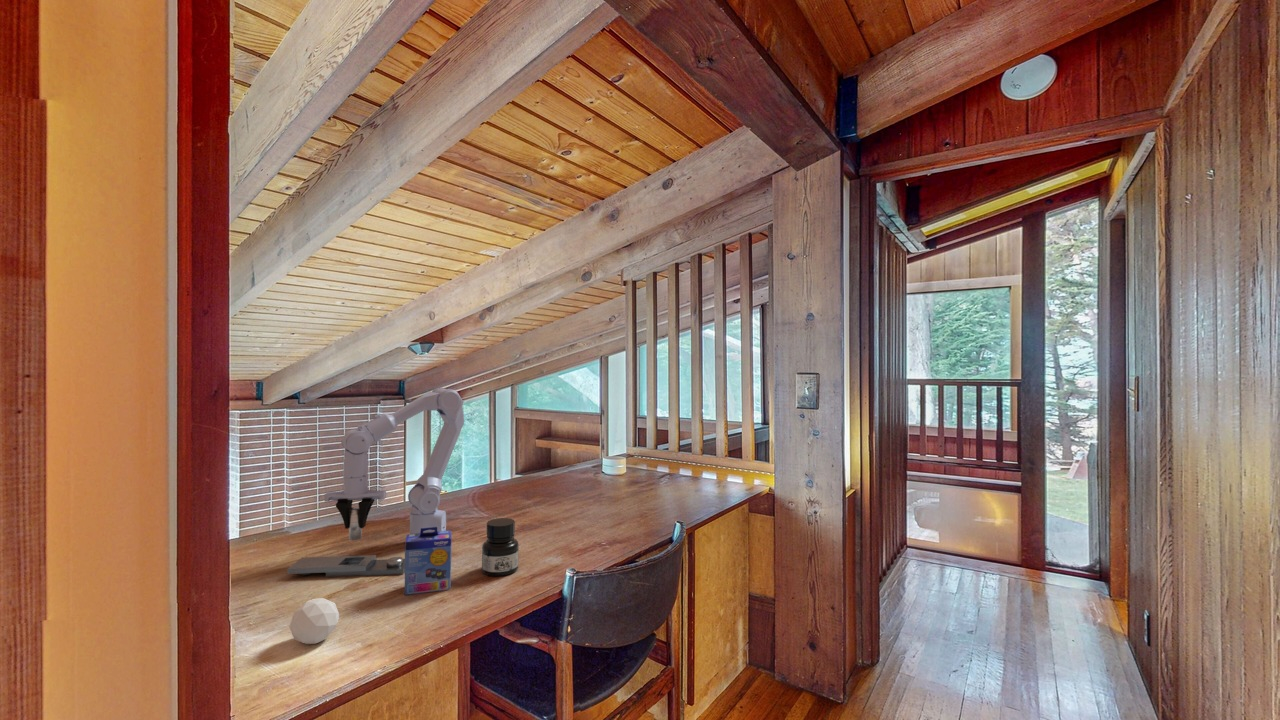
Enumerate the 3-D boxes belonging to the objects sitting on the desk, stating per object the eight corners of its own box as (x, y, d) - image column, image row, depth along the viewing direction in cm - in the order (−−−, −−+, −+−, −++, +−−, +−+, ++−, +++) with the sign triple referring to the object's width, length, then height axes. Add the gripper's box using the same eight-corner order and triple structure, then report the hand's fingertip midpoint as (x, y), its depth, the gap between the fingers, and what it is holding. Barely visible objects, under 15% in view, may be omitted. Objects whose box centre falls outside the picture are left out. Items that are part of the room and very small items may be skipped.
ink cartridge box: (403, 596, 118) (404, 531, 118) (405, 586, 123) (406, 523, 123) (451, 590, 121) (451, 526, 121) (450, 580, 126) (451, 519, 126)
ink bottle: (479, 579, 127) (480, 529, 127) (480, 565, 136) (480, 518, 136) (521, 575, 130) (521, 526, 130) (519, 561, 138) (519, 515, 138)
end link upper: (376, 564, 135) (376, 555, 135) (365, 575, 128) (365, 565, 128) (302, 567, 133) (302, 557, 133) (287, 578, 126) (287, 568, 126)
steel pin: (363, 536, 142) (363, 506, 142) (359, 540, 139) (359, 509, 139) (351, 536, 142) (351, 506, 142) (347, 540, 139) (347, 509, 139)
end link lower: (411, 563, 136) (411, 553, 136) (402, 574, 129) (402, 564, 129) (338, 565, 134) (338, 556, 134) (325, 577, 127) (325, 567, 127)
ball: (307, 662, 97) (280, 639, 93) (306, 628, 103) (280, 606, 99) (349, 635, 99) (324, 612, 95) (345, 604, 106) (321, 581, 101)
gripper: (389, 471, 145) (389, 521, 146) (332, 473, 143) (332, 523, 143) (381, 477, 138) (380, 529, 139) (321, 479, 136) (320, 532, 136)
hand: (355, 527), depth 141 cm, fingers closed on steel pin, 3 cm apart
